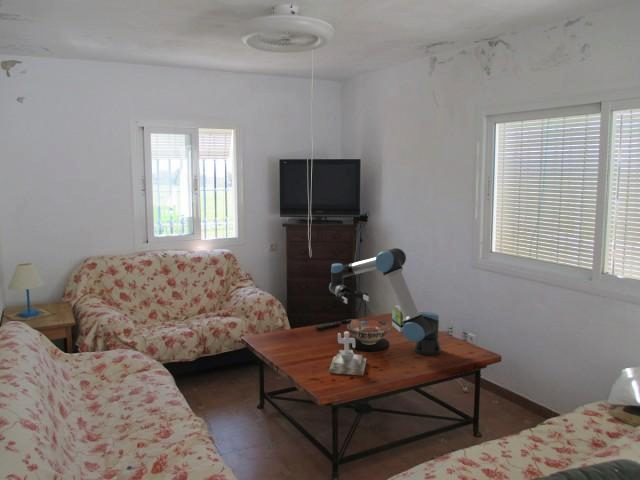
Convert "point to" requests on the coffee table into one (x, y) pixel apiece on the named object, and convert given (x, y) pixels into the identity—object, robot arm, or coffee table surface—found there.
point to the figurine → (346, 346)
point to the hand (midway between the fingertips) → (357, 300)
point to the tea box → (397, 318)
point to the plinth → (346, 370)
